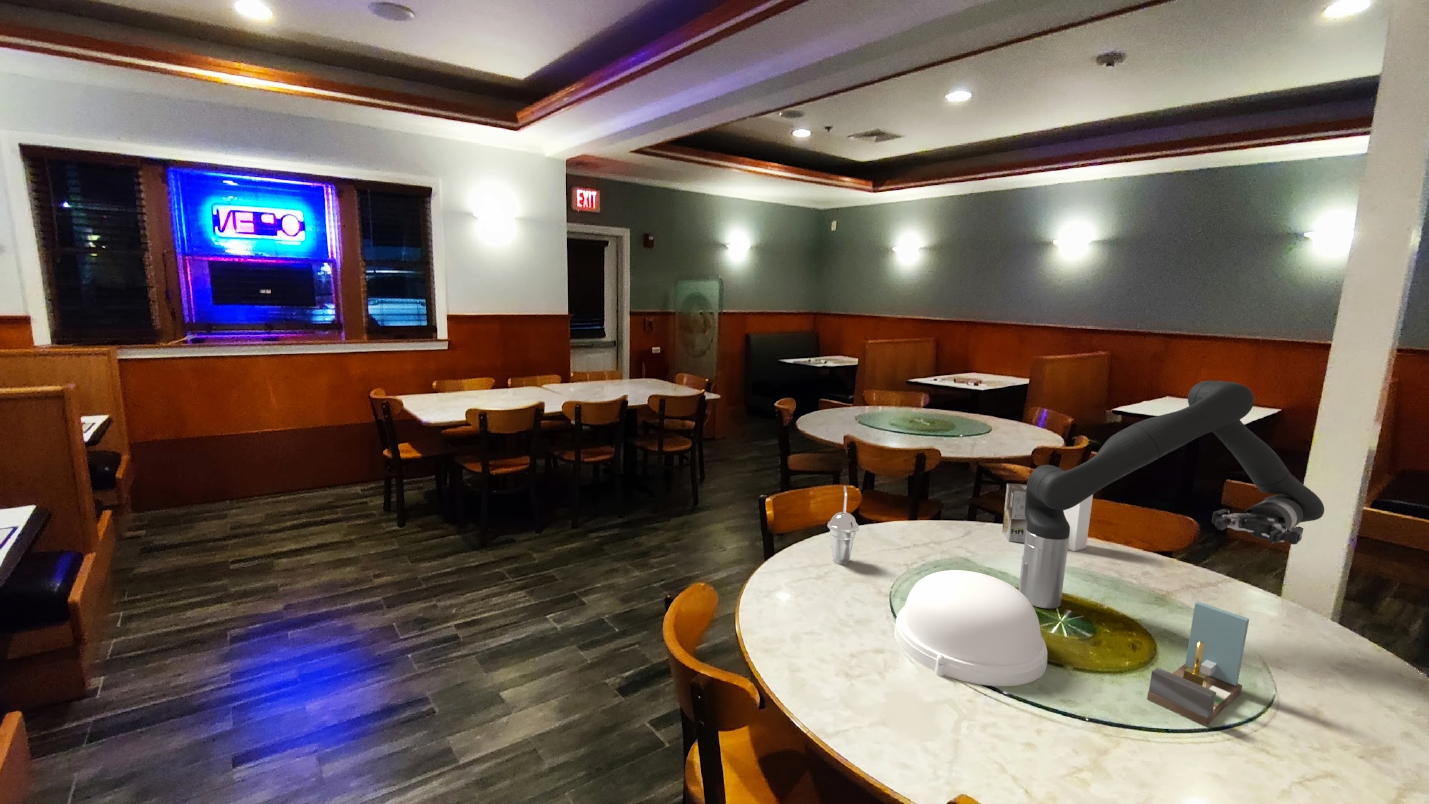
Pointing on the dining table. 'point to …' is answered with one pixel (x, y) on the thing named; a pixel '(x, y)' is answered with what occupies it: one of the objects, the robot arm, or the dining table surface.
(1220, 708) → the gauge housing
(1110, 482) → the robot arm
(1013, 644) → the dome cover
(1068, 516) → the milk
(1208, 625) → the blue-grey rectangular panel
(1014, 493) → the coffee box
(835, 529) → the cup with straw
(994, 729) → the dining table surface
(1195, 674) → the gold upright bar
